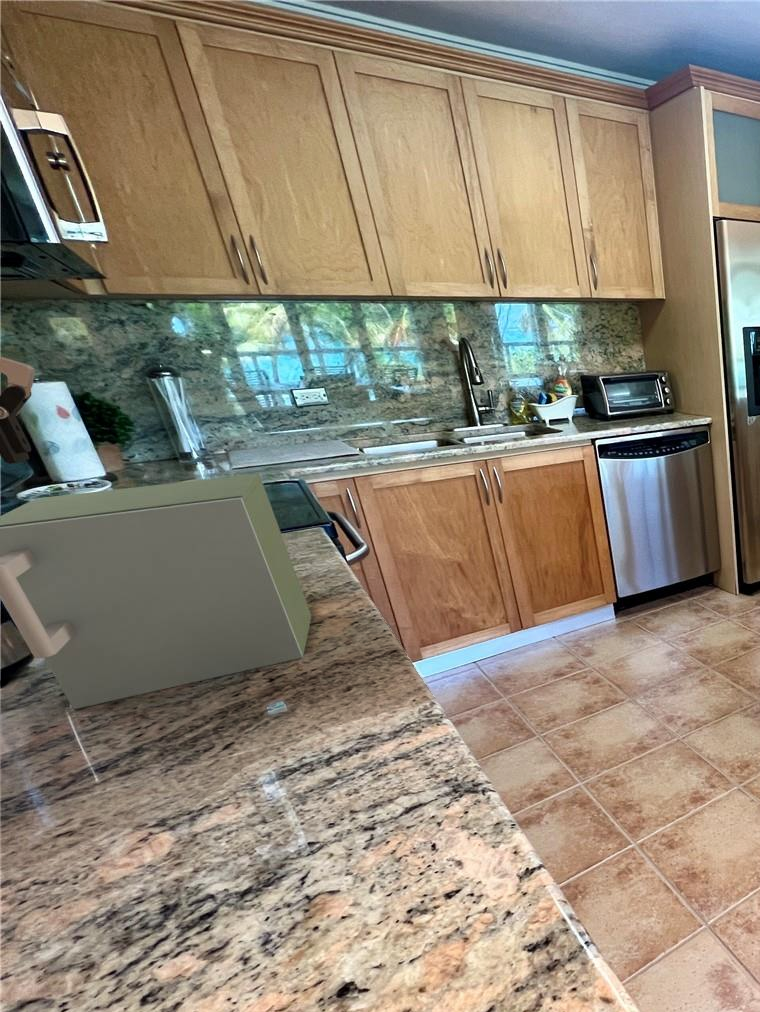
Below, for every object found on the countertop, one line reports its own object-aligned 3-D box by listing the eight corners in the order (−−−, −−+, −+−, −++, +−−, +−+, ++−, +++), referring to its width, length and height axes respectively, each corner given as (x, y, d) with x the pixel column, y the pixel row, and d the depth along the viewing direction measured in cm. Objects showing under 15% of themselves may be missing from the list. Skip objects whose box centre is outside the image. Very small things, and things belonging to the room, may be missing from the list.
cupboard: (303, 655, 84) (241, 495, 76) (77, 706, 74) (-25, 528, 65) (311, 616, 96) (259, 473, 87) (117, 655, 86) (35, 498, 77)
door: (298, 678, 78) (231, 510, 70) (51, 737, 68) (-62, 548, 60) (303, 655, 84) (242, 497, 75) (75, 706, 74) (-25, 530, 65)
